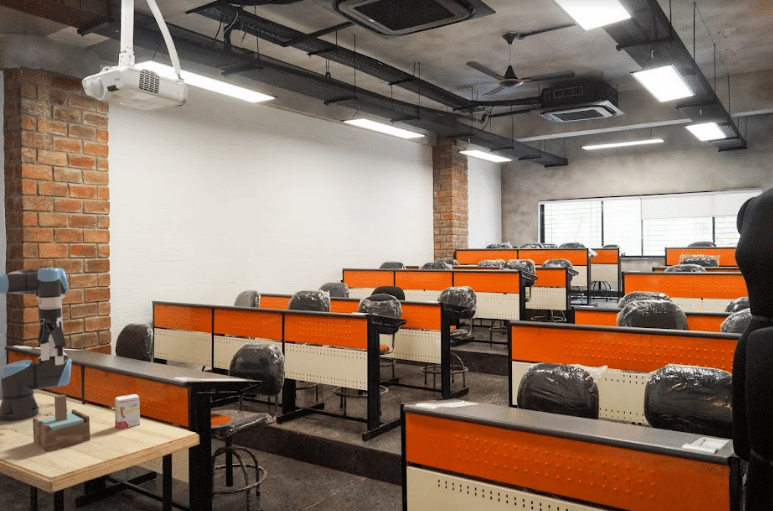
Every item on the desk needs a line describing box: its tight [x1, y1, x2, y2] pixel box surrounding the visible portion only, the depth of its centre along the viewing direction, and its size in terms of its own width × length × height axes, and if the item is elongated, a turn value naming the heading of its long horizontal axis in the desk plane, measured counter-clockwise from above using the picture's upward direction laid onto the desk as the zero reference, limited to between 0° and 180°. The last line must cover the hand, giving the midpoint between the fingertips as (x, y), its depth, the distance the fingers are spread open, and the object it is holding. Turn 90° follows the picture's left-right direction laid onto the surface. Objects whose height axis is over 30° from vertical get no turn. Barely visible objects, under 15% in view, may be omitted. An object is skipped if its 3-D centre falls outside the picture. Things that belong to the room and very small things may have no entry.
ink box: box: [114, 393, 141, 430], centre depth 231 cm, size 9×5×12 cm, turn 127°
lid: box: [39, 394, 84, 430], centre depth 214 cm, size 13×11×10 cm
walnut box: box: [32, 409, 91, 452], centre depth 214 cm, size 15×14×9 cm
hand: (52, 362), depth 222 cm, fingers open, 13 cm apart
